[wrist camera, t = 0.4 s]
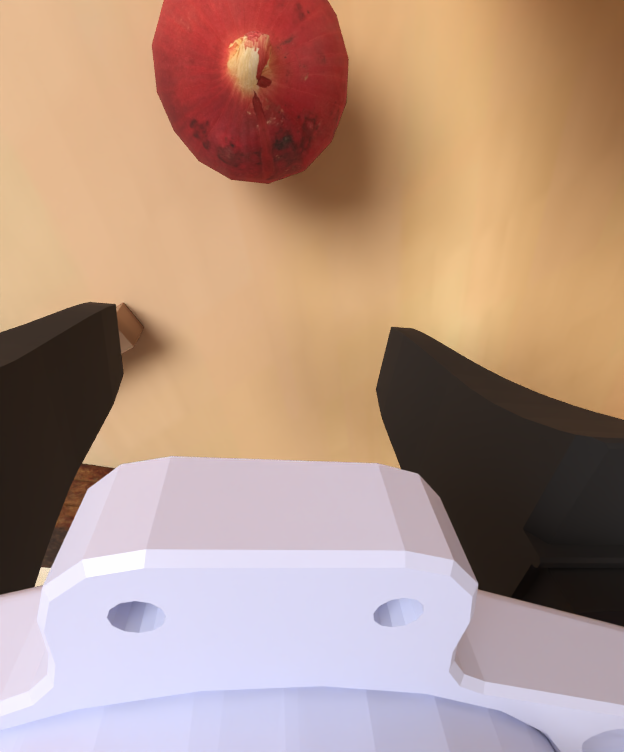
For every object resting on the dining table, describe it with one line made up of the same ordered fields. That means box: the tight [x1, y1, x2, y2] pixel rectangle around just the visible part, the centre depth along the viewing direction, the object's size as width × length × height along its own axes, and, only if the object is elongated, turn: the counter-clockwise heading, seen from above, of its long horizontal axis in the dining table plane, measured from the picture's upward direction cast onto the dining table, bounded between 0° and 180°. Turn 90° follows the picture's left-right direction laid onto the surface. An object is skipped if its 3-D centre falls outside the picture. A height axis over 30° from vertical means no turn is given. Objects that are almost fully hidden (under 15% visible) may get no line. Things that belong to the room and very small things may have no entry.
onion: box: [152, 0, 349, 184], centre depth 13 cm, size 6×6×8 cm
